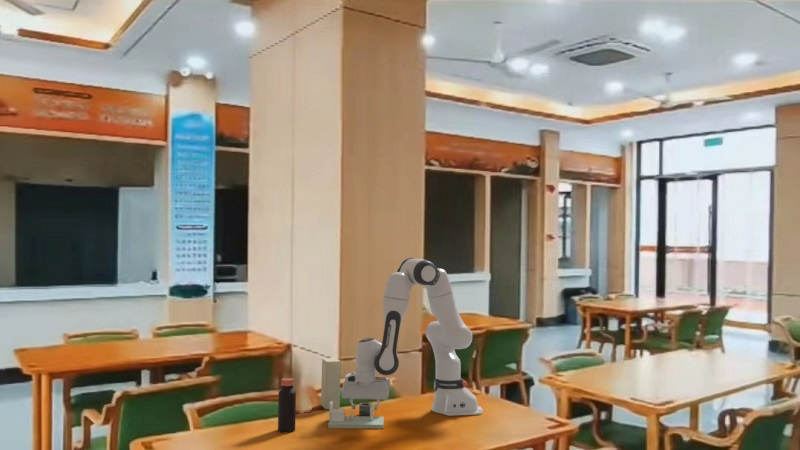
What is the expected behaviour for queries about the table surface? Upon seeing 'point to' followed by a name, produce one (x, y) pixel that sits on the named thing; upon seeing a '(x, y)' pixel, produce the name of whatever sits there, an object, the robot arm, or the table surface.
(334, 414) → the cover
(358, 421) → the base
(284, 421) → the bottle
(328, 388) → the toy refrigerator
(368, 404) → the collar
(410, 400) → the table surface
